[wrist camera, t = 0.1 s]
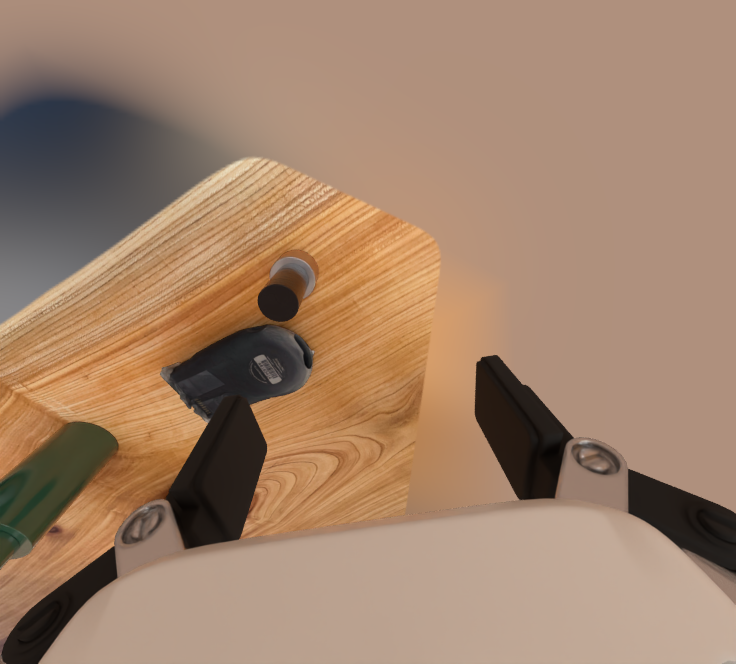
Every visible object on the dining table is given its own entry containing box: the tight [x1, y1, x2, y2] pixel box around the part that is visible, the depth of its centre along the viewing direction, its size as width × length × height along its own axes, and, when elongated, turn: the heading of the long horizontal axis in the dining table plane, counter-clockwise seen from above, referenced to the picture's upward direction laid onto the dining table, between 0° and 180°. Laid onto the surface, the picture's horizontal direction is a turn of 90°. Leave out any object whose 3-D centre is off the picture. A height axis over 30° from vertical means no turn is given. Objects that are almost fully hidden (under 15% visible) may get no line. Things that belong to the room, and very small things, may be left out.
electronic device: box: [160, 324, 314, 423], centre depth 33 cm, size 9×6×15 cm
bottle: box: [0, 422, 118, 570], centre depth 31 cm, size 7×7×17 cm
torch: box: [258, 250, 319, 322], centre depth 25 cm, size 4×4×9 cm
